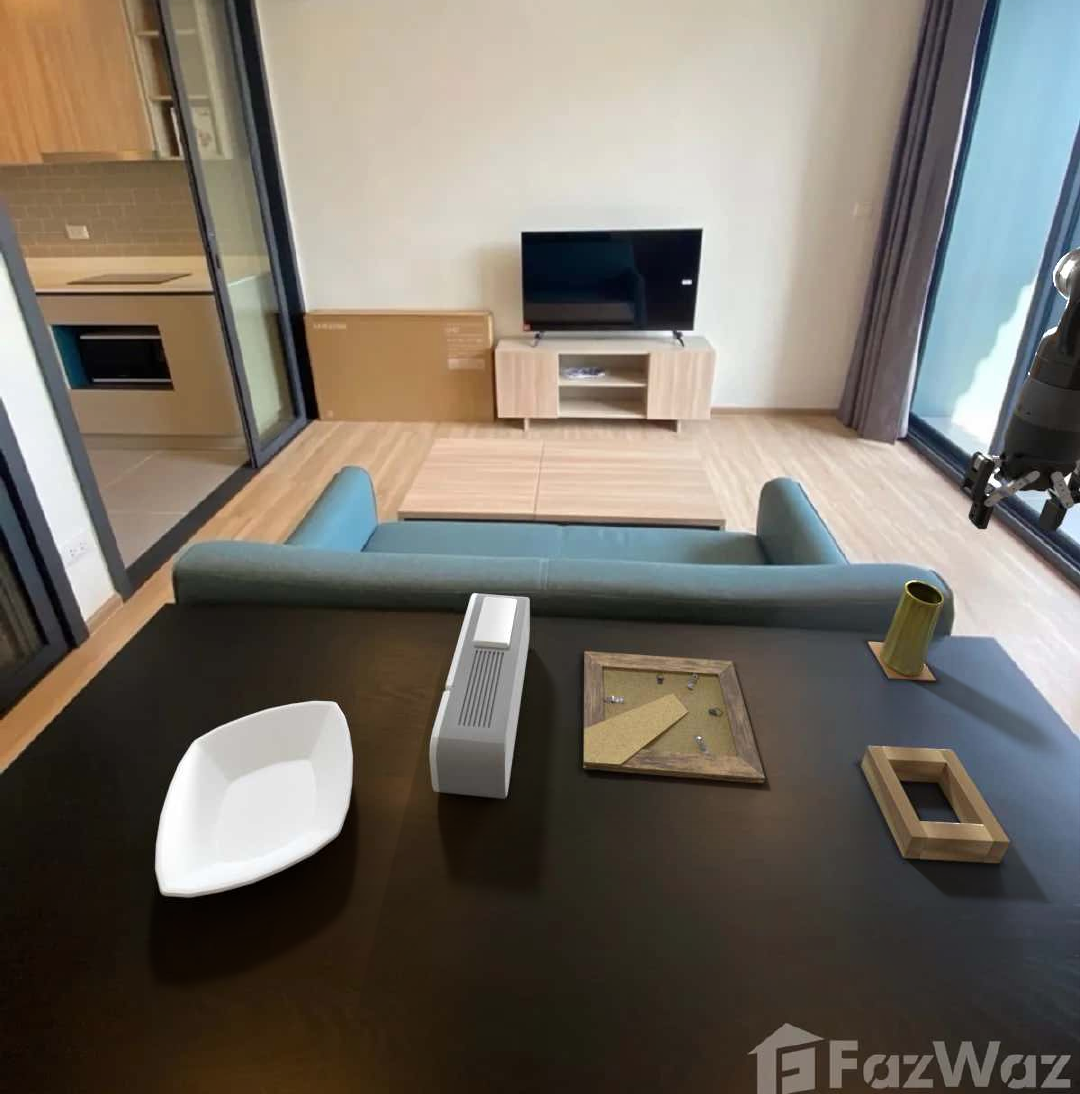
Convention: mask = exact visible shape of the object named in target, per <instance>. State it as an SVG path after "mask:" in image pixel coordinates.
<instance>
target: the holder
mask: <svg viewBox="0 0 1080 1094" xmlns="http://www.w3.org/2000/svg"><path fill="white" fill-rule="evenodd" d="M861 761H862V762H861V763H860V767H861V769H862V772H863V774H864V776H865V778H866V780H867V782H868V784H869V786H870V789H871V791H872V793H873V795H874V798H875V800H876V802H877V804H878V806H879V808H880V810H881V812H882V815H883V817H884V819H885V822H886V823H887V825H888V828H889V829H890V832H891V834H892V836H893V838H894V840H895V842H896V844H897V847H898V849H899V851H900V854H901V856H902V857H903V858H904V859H918V860H937V861H953V862H970V863H971V862H972V863H989V864H1000V862H1001V861H1002V859H1003V857H1004V855H1005V853H1006V851H1007V849H1008V848H1009V846H1010V844H1011V840H1010V839H1009V838H1008V836H1007V834H1006V833H1005V831H1004V830H1003V828H1002V826H1001V824H1000V823H999V822H998V820H997V819H996V817H995V815H994V814H993V812H992V810H991V808H990V807H989V806H988V804H987V803H986V801H985V799H984V798H983V796H982V795H981V793H980V791H979V790H978V788H977V787H976V784H975V783H974V782H973V780H972V779H971V777H970V776H969V774H968V773H967V771H966V768H964V766H963V764H962V763H961V761H960V760H959V758H958V756H957V755H956V753H955V752H954V750H953V749H942V748H940V749H939V748H938V749H937V748H925V747H924V748H921V747H900V746H885V745H883V746H879V745H867V747H866V750H865V752H864V755H863V758H862V760H861ZM900 781H902V782H918V783H937V784H938V786H939V787H940V789H941V790H942V793H943V794H944V796H945V798H946V799H947V801H948V803H949V805H950V806H951V808H952V810H953V811H954V813H955V815H956V816H957V818H958V820H959V822H960V823H959V822H943V821H941V822H940V821H923V820H920V819H919V818H918V816H917V814H916V812H915V809H914V807H913V805H912V804H911V802H910V800H909V798H908V796H907V794H906V792H905V790H904V788H903V786H902V785H901V782H900Z"/></svg>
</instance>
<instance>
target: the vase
mask: <svg viewBox="0 0 1080 1094" xmlns="http://www.w3.org/2000/svg"><path fill="white" fill-rule="evenodd" d="M944 602H945V597H944V595H943V593H942V592H941V590H940V589H938V588H937V587H936V586H933V585H932V584H930V583H928V582H925V581H920V580H909V581H907V582H906V583H905V584H904V586H903V589H902V593H901V595H900V598H899V602H898V605H897V607H896V610H895V613H894V615H893V619H892V621H891V624H890V627H889V628H888V631H887V633H886V636H885V638H884V641H883V643H884V644H883V646H882V647H881V650H880V653H881V657H882V659H883V661H884V662H885V663H886V664H887V665H888V666H889V667H890V668H892V669H893V670H895V671H897V672H899V673H901V674H904V675H910V676H914V675H919V674H920V673H921V672H922V671H923V668H924V663H925V662H926V658H927V654H928V652H929V648H930V645H931V643H932V638H933V635H934V632H935V628H936V625H937V623H938V619H939V617H940V616H939V615H940V613H941V611H942V608H943V606H944Z"/></svg>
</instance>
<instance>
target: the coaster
mask: <svg viewBox="0 0 1080 1094" xmlns="http://www.w3.org/2000/svg"><path fill="white" fill-rule="evenodd" d="M867 644H868V646H869V647H870V649H871V651H872V652H873V654H874V656H875V657H876V659H877V661H878V663H879V665H880V666H881V668H882V670H883V671H884V672H885V674H886V676H887V678H888V679H890V680H910V681H913V680H914V681H935V682H936V681H937V679H936V678H935V676H934V675H933V674H932V672H931V671H930V669H929V668H928V666H927V664H926V663H925V662H924V668H923V671H922V672H921V673H920V674H919V675H914V676H910V675H904V674H901V673H899V672H897V671H895V670H893V669H892V668H890V667H889V666H888V665H887V664H886V663H885V662H884V661H883V659H882V657H881V653H880V650H881V647H882V646H883V644H884V642H878V641H877V642H875V641H867Z"/></svg>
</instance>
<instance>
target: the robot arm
mask: <svg viewBox="0 0 1080 1094" xmlns="http://www.w3.org/2000/svg"><path fill="white" fill-rule="evenodd" d="M1053 283H1054V286H1055V287H1056V290H1057V292H1058V293H1059V294H1060V295H1061V296H1062V297H1064V298H1065V299H1066V300H1067V303H1066V307H1065V308H1064V312H1063V313H1062V316H1061V317H1060V320H1059V322H1058V324H1057V326H1056V327H1054V328H1052V329H1049V330H1048V331H1047V332H1045V333H1044V334H1043V336H1042V337H1041V340H1040V341H1039V343H1038V346H1037V348H1036V351H1035V354H1034V357H1033V359H1032V362H1031V366H1030V369H1029V372H1028V374H1027V377H1026V378H1025V380H1024V382H1023V384H1022V386H1021V388H1020V390H1019V392H1018V395H1017V398H1016V401H1015V404H1014V407H1013V410H1012V413H1011V416H1010V419H1009V421H1008V424H1007V427H1006V430H1005V433H1004V436H1003V443H1004V447H1003V450H1002V452H1001V453H1000V454H998V455H997V456H995V455H986V454H985V453H983V452H982V451H980V450H979V451H975V452H974V453H973V454H972V456H971V459H970V461H969V464H968V466H967V469H966V472H965V474H964V477H963V478H962V481H961V484H960V487H959V491H961V492H962V493H963V494H964V495H965V496H966V497H967V498H968V499H970V501H972V503H971V507H970V509H969V512H968V515H967V516H968V519H969V520H970V522H971V524H972V525H973V526H974V527H975V528H977V529H978V530H987V529H988V527H989V523H990V520H991V517H992V514H993V511H994V509H995V506H994V505H996V504H997V503H998V502H999V501H1001V500H1002V499H1003V498H1009V497H1012V496H1013V495H1014V494H1016V493H1017V492H1029V491H1035V492H1040V493H1041V492H1042V493H1043V492H1047V495H1048V496H1049V498H1046V499H1045V502H1044V504H1043V507H1042V509H1041V511H1040V514H1039V517H1038V520H1037V523H1038V525H1039V526H1040V527H1041V528H1043V529H1044V530H1045V531H1046V532H1049V533H1050V532H1051V533H1054V532H1057V530H1058V528H1060V527H1061V526H1062V525H1063V522H1064V519H1065V517H1066V515H1067V512H1068V510H1069V509H1072V508H1073V507H1074V505H1077V504H1080V246H1079V247H1077V248H1074V249H1073V250H1071V251H1070V252H1068V253H1067V254H1066V255H1064V256H1063V257H1062V258H1061V259H1060V260H1059V262H1058V263H1057V265H1056V266H1055V269H1054V271H1053ZM1069 475H1070V476H1069ZM1068 476H1069V480H1068V483H1066V480H1065V478H1067V477H1068ZM1002 479H1004V480H1005V482H1006V483H1007V484H1006V485H1003V484H1002V483H1001V482H1000V481H1001V480H1002ZM993 489H994V490H993ZM991 491H992V492H991Z"/></svg>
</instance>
